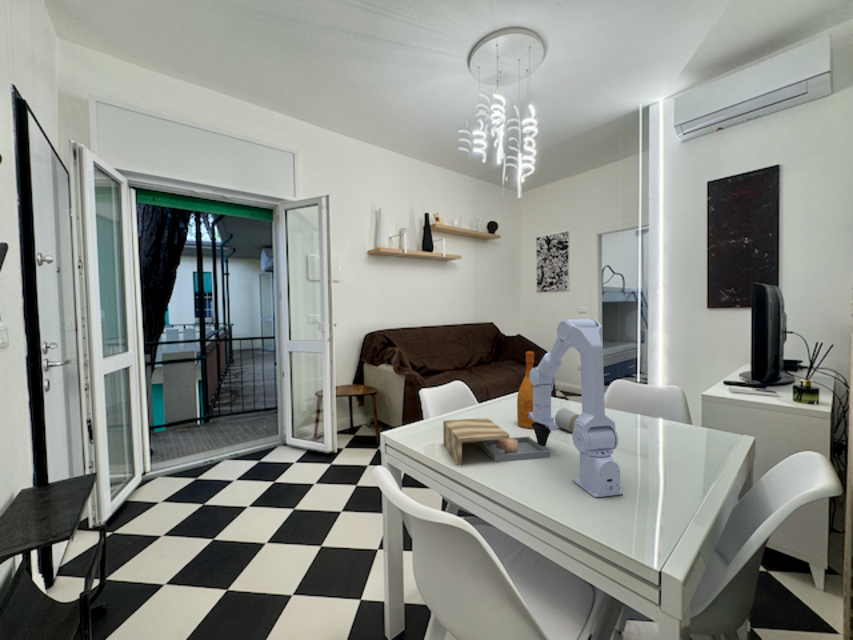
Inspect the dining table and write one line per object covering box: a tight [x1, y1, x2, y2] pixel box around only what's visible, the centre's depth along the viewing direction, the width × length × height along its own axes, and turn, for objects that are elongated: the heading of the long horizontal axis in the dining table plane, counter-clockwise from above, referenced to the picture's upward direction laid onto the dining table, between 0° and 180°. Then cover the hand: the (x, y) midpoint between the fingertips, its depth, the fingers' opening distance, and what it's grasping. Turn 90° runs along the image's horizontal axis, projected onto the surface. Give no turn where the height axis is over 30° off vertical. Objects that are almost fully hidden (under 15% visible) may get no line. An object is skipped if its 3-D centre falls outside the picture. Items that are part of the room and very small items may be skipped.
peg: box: [496, 439, 505, 449], centre depth 119 cm, size 4×4×4 cm
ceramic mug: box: [554, 408, 581, 433], centre depth 138 cm, size 11×8×8 cm
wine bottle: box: [516, 350, 535, 430], centre depth 143 cm, size 10×10×30 cm
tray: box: [478, 436, 550, 463], centre depth 116 cm, size 14×18×2 cm
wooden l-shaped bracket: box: [442, 417, 510, 466], centre depth 115 cm, size 18×16×8 cm
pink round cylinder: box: [504, 437, 518, 454], centre depth 112 cm, size 4×4×4 cm
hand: (541, 445), depth 118 cm, fingers closed
